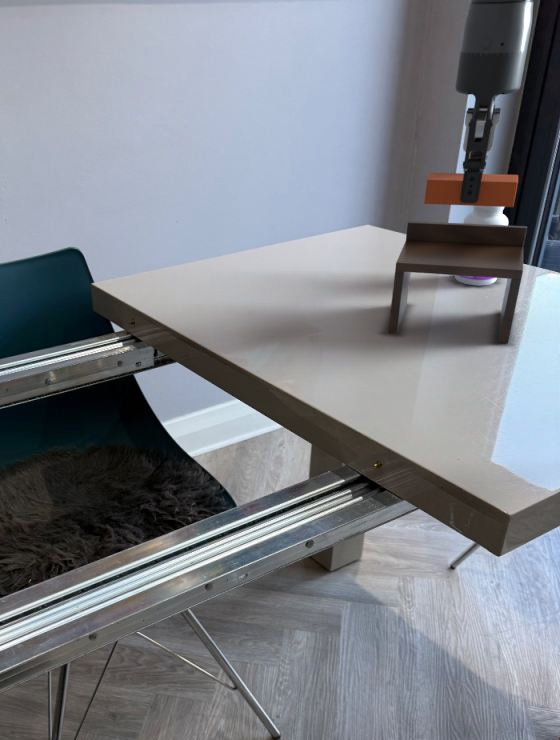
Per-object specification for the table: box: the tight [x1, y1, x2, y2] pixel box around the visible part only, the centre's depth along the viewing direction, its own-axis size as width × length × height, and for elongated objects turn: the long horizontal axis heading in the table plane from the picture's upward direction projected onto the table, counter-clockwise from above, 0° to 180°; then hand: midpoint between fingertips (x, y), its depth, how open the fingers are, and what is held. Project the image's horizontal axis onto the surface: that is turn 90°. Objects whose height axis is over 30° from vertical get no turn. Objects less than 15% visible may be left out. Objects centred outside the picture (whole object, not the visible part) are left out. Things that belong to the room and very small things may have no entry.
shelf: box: [387, 220, 528, 344], centre depth 110 cm, size 16×12×12 cm
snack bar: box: [423, 172, 519, 208], centre depth 102 cm, size 11×4×3 cm, turn 70°
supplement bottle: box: [454, 206, 509, 287], centre depth 125 cm, size 7×7×13 cm
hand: (469, 197), depth 103 cm, fingers closed on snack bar, 4 cm apart
